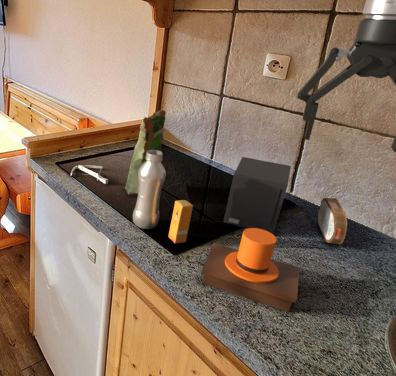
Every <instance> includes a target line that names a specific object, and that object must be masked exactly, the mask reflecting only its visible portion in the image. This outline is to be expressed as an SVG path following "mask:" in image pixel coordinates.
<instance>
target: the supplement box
mask: <svg viewBox="0 0 396 376" xmlns="http://www.w3.org/2000/svg"><path fill="white" fill-rule="evenodd" d="M193 208H194V205H193V204H191V202H190V201H188V200H187V199H179V200H175V202H174V206H173V211H172V217H171V222H170V227H169V231H168V238H169V239H170V240H171V241H172V242H173V243H174V244H181V243H182V244H183V243H186V242H187V237H188V234H189V233H188V232H189V228H190V222H191V219H192V218H191V217H192V214H193V213H192V212H193Z"/></svg>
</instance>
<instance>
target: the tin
mask: <svg viewBox="0 0 396 376" xmlns="http://www.w3.org/2000/svg"><path fill="white" fill-rule="evenodd" d="M317 224H318V227H319V229H320V232H321V234H322V236H323V238H324V240H325V242H326V243H328V244H334V245H338V246H341V245H343V243H344V241H345V238H346V236H347V231H348V216H347V214H346V212H345V210H344V208H343V207H342V205H341V203H340V202H339V200H338V198H336V197H334V198H333V197H323V198H322V199H321V200H320V205H319V209H318V212H317Z"/></svg>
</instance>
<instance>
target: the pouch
mask: <svg viewBox="0 0 396 376" xmlns="http://www.w3.org/2000/svg"><path fill="white" fill-rule="evenodd" d="M166 113H167V111H165V110H163V109H160V110H158V111H156V112H155V111H154V112H153V113H152V115H150V116H148V117H146V116H145V117H143V118H142V120H141V124H140V126H139V129H140V131H139V134H138V140H137V142H136V145H135V146H134V147H133V148H134V149H133V150H134V151H133V152H134V153H133V155H132V157H131V161H130V164H129V171H128V175H127V179H126V183H125V187H124V189H125V191H126V192H127V195H128V196H130V195H131V196H138V187H139V182H138V172H139V169H140V167H141V166H142V165H143V164H144V163H145V162H146V161H147V160H146V154H147V151H148V150H157V151H161V152H162V153H163V150H162V145H163V141H164V126H165V122H166Z"/></svg>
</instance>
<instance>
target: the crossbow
mask: <svg viewBox="0 0 396 376" xmlns="http://www.w3.org/2000/svg"><path fill="white" fill-rule="evenodd" d="M88 168H89V169H88ZM90 168H91V169H100V171H99V173H98V172H95V171H93V170H91V169H90ZM77 169H78V170H80V171H82V172H84V173H83V175H86V176H92V177H94V178H96V181H99V182H102V183H103V184H105V185H108V184H109V179H108V178H105V177H103V176H102V175H100V173H101V171H102V169H104V167H103V165H94V164H93V165H91V164H78V165H75V166H74V167H72V169H71V171H70V176H71V177H72V176H73V175H75V173H74V171H75V170H77ZM85 173H86V174H85Z"/></svg>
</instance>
